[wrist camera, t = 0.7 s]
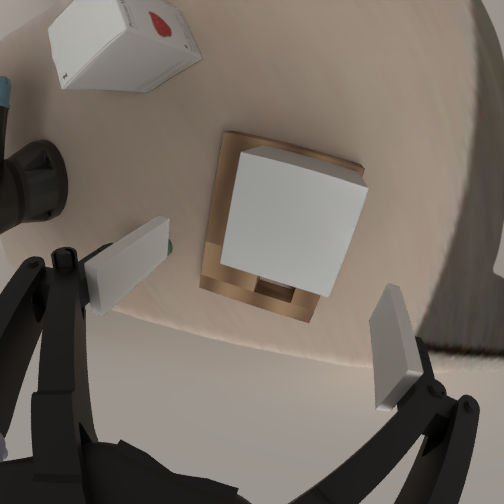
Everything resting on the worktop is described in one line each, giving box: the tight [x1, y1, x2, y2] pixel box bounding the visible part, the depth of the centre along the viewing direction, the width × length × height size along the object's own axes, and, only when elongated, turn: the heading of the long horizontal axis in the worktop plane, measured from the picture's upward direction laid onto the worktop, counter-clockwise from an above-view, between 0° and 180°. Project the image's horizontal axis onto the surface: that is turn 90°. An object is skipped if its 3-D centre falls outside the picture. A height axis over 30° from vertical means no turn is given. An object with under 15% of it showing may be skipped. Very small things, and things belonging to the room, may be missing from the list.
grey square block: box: [220, 145, 368, 297], centre depth 27 cm, size 10×10×8 cm
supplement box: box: [48, 0, 202, 93], centre depth 22 cm, size 9×9×15 cm
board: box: [199, 131, 365, 323], centre depth 32 cm, size 15×20×8 cm
